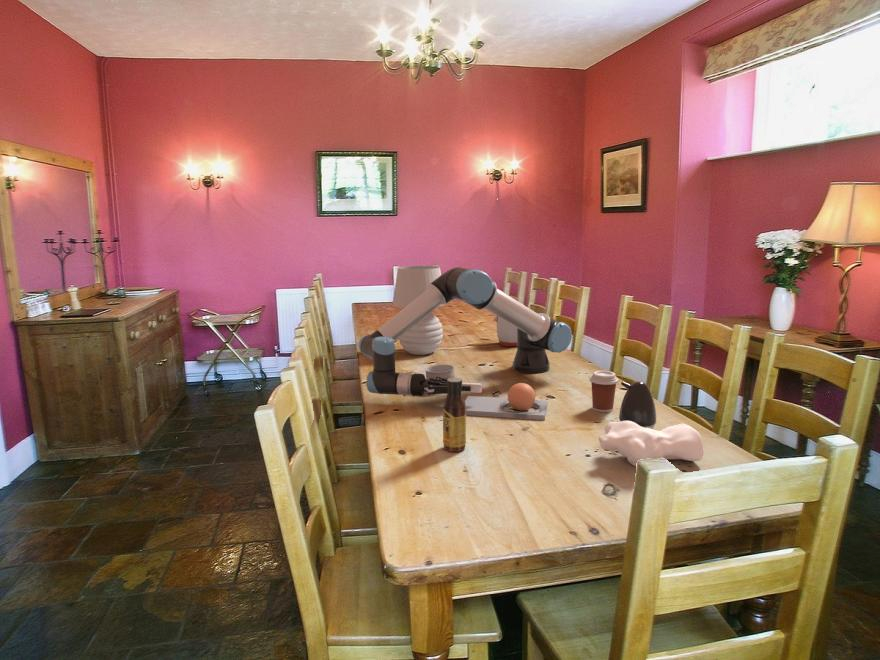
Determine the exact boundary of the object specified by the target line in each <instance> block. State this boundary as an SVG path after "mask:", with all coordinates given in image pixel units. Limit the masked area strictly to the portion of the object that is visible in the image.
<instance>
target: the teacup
mask: <svg viewBox="0 0 880 660" xmlns="http://www.w3.org/2000/svg"><path fill="white" fill-rule="evenodd" d="M424 370H425V379H430V378H434V379H436V377H440V378H445V379H449V378H456V377H455V366H454V365H451V364H445V363H444V364H443V363H438V364H434V365H430V366H427V367H426V368H425V369H424Z"/></svg>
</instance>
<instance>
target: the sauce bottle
mask: <svg viewBox="0 0 880 660" xmlns="http://www.w3.org/2000/svg"><path fill="white" fill-rule="evenodd" d="M462 383H463V379H462V378H460V377H455V378H449V379H447V386H448V393H447V394H446V397H445V400H444V403H443V406H442V437H443V438H442V443H443V448H444V450H446V451H447V452H449V453H459V452H462V451H465V448H466V444H467V415H466V404H465V399H464V398H463V396H462V393H463V392H461V386H462Z"/></svg>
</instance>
